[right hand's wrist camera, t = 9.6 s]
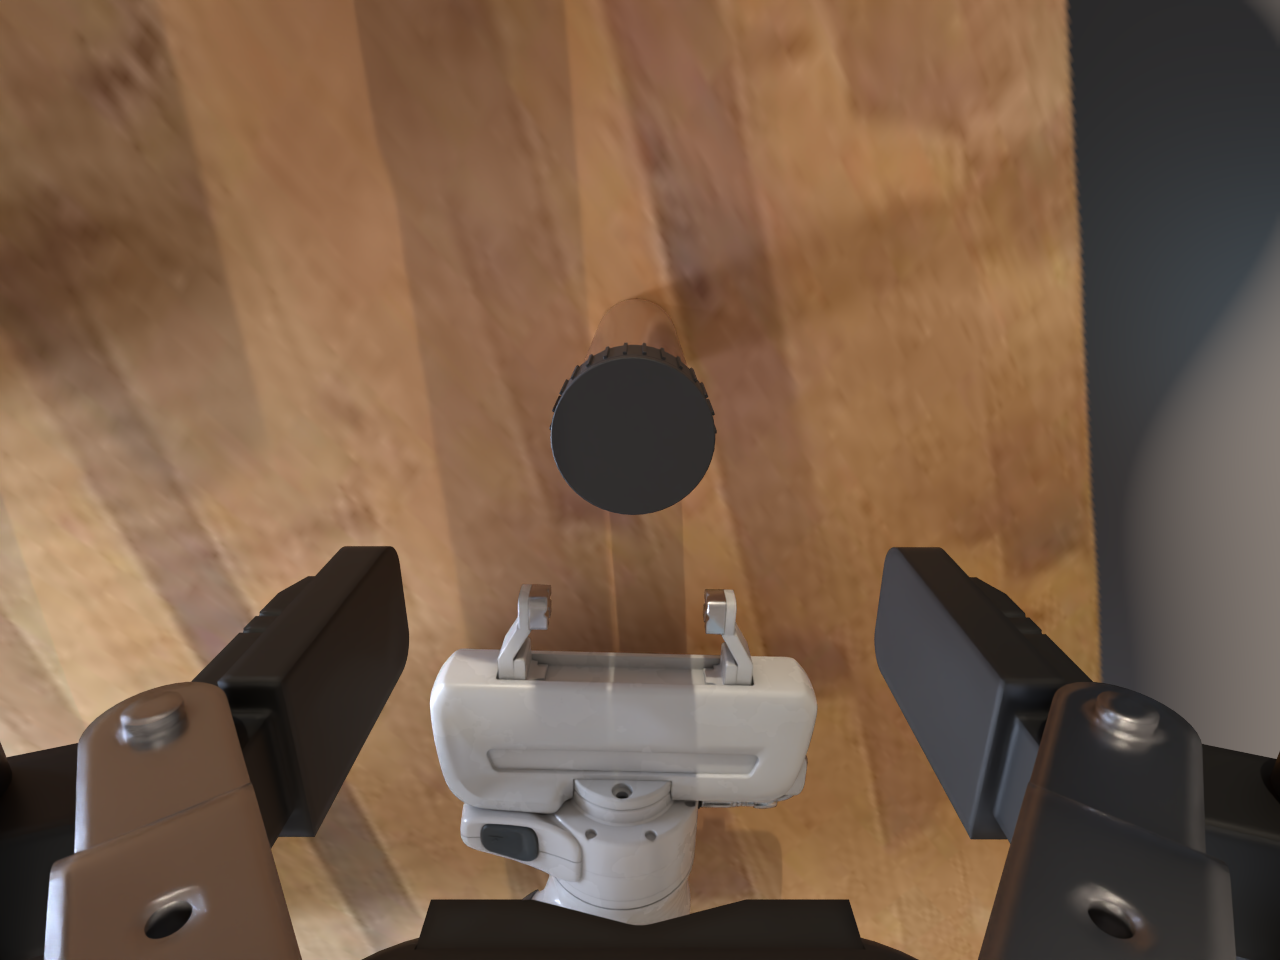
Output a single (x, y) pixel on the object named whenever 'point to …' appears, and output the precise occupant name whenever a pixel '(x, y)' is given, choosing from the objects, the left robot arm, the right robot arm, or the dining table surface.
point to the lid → (633, 430)
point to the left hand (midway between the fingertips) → (627, 591)
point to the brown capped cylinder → (636, 328)
